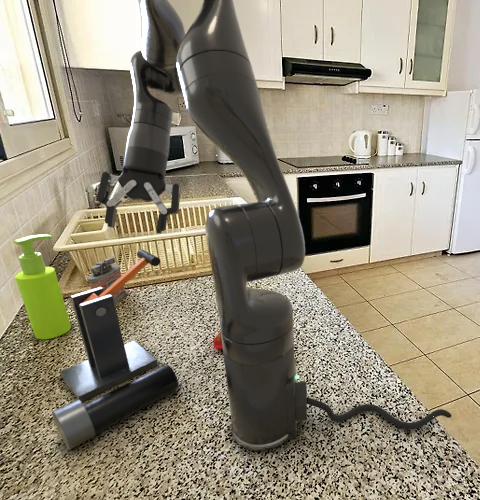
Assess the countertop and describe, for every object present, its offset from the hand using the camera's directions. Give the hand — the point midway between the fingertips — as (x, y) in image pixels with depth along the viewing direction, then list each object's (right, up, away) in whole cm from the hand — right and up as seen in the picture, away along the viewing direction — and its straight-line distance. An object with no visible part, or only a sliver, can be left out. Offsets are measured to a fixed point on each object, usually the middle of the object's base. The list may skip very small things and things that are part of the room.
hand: (135, 230), depth 74 cm
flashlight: (+9, -29, -17) cm, 35 cm away
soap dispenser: (-17, -20, +2) cm, 27 cm away
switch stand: (+1, -25, -9) cm, 27 cm away
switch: (+4, -10, -11) cm, 15 cm away
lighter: (-14, -16, +14) cm, 25 cm away
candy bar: (+20, -21, +3) cm, 29 cm away
